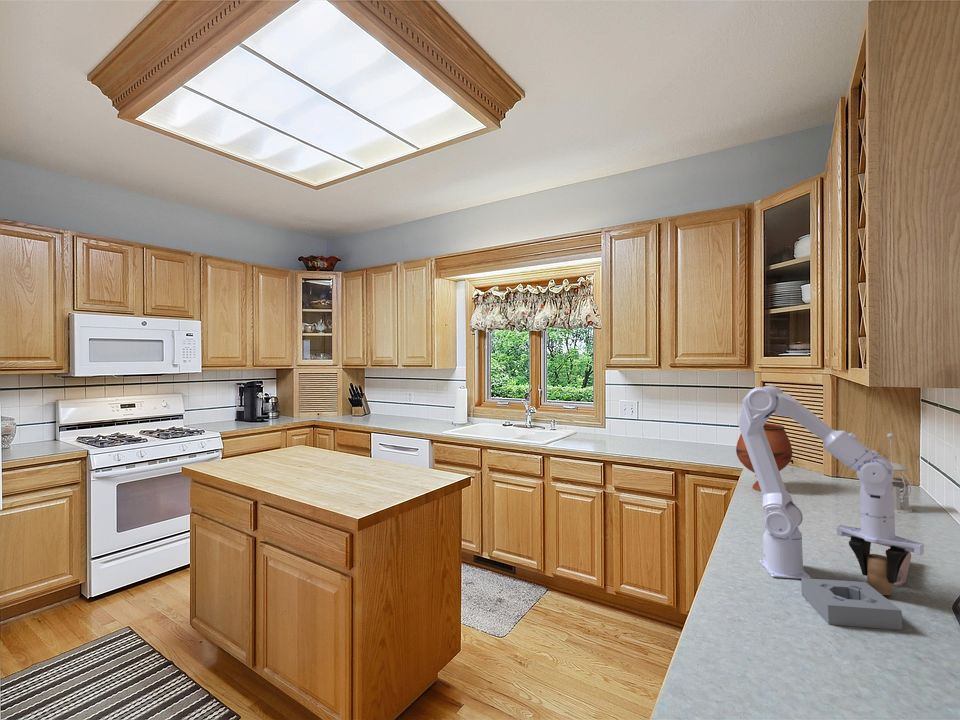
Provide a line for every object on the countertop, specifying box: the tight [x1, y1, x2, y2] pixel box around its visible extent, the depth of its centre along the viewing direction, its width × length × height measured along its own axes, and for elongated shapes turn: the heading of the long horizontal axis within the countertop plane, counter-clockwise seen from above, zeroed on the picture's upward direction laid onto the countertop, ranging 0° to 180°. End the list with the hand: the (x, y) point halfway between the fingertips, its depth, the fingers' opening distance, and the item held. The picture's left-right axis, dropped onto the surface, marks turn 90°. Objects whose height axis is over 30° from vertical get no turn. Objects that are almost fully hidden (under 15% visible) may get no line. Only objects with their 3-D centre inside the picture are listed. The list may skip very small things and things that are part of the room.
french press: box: [886, 432, 913, 514], centre depth 161 cm, size 10×12×25 cm
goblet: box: [735, 422, 793, 492], centre depth 190 cm, size 19×19×25 cm
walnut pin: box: [866, 553, 893, 596], centre depth 104 cm, size 4×4×7 cm
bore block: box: [800, 578, 903, 631], centre depth 97 cm, size 12×12×4 cm
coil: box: [883, 546, 912, 587], centre depth 114 cm, size 5×5×18 cm
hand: (879, 578), depth 104 cm, fingers closed on walnut pin, 4 cm apart
